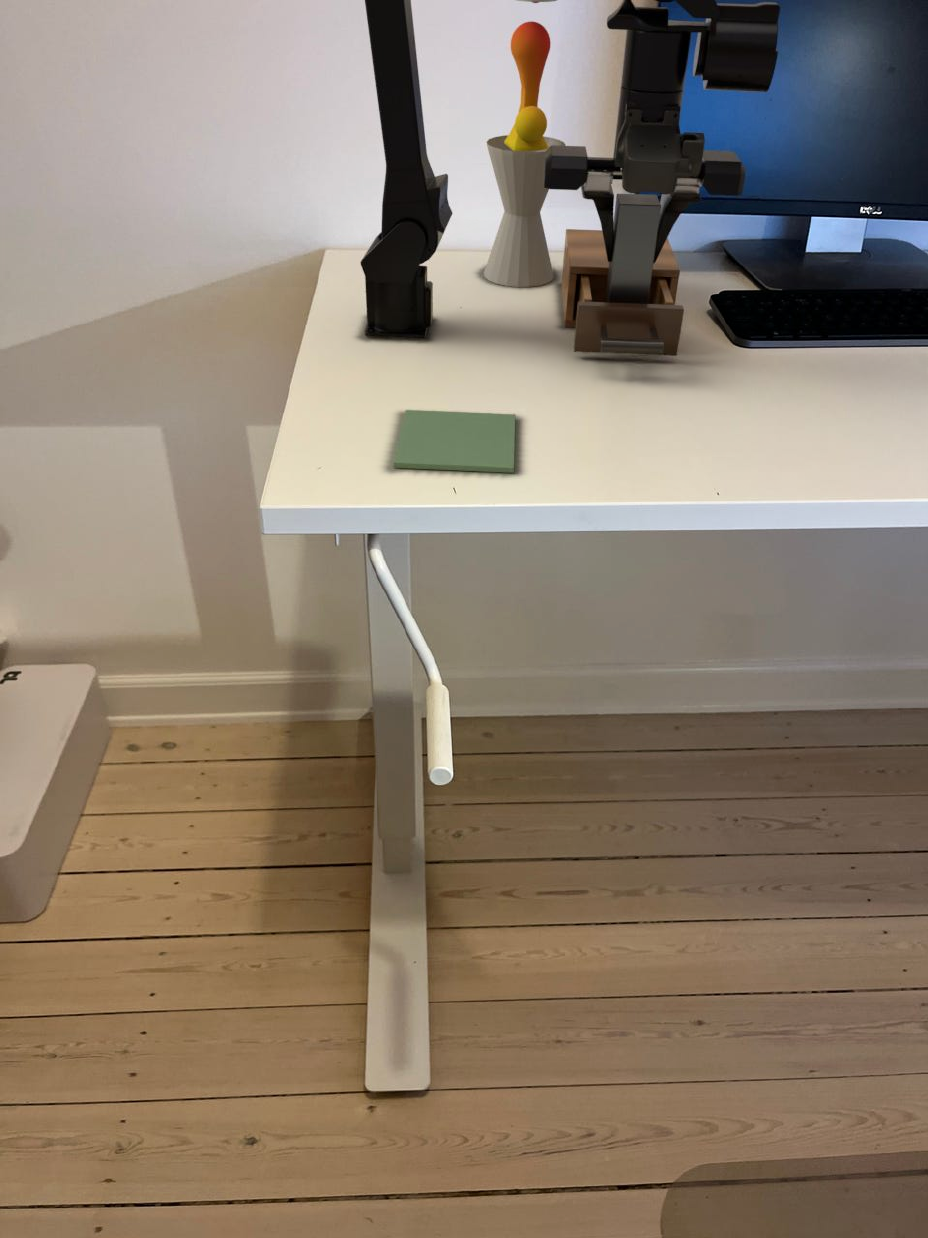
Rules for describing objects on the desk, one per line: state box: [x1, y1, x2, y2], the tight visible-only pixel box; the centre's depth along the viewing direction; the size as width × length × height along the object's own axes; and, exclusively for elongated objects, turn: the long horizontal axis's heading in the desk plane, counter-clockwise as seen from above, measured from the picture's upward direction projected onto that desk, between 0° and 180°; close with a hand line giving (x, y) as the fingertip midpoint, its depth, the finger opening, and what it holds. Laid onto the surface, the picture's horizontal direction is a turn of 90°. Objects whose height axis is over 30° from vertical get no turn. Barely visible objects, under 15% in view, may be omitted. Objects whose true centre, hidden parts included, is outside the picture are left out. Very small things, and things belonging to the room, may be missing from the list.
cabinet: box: [561, 228, 681, 328], centre depth 109 cm, size 14×12×7 cm
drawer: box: [573, 274, 685, 357], centre depth 99 cm, size 17×10×5 cm, turn 177°
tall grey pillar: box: [606, 193, 661, 304], centre depth 97 cm, size 4×4×10 cm
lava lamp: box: [483, 0, 566, 288], centre depth 108 cm, size 9×9×35 cm
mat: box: [393, 409, 516, 474], centre depth 83 cm, size 10×10×1 cm
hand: (630, 261), depth 97 cm, fingers closed on tall grey pillar, 4 cm apart
